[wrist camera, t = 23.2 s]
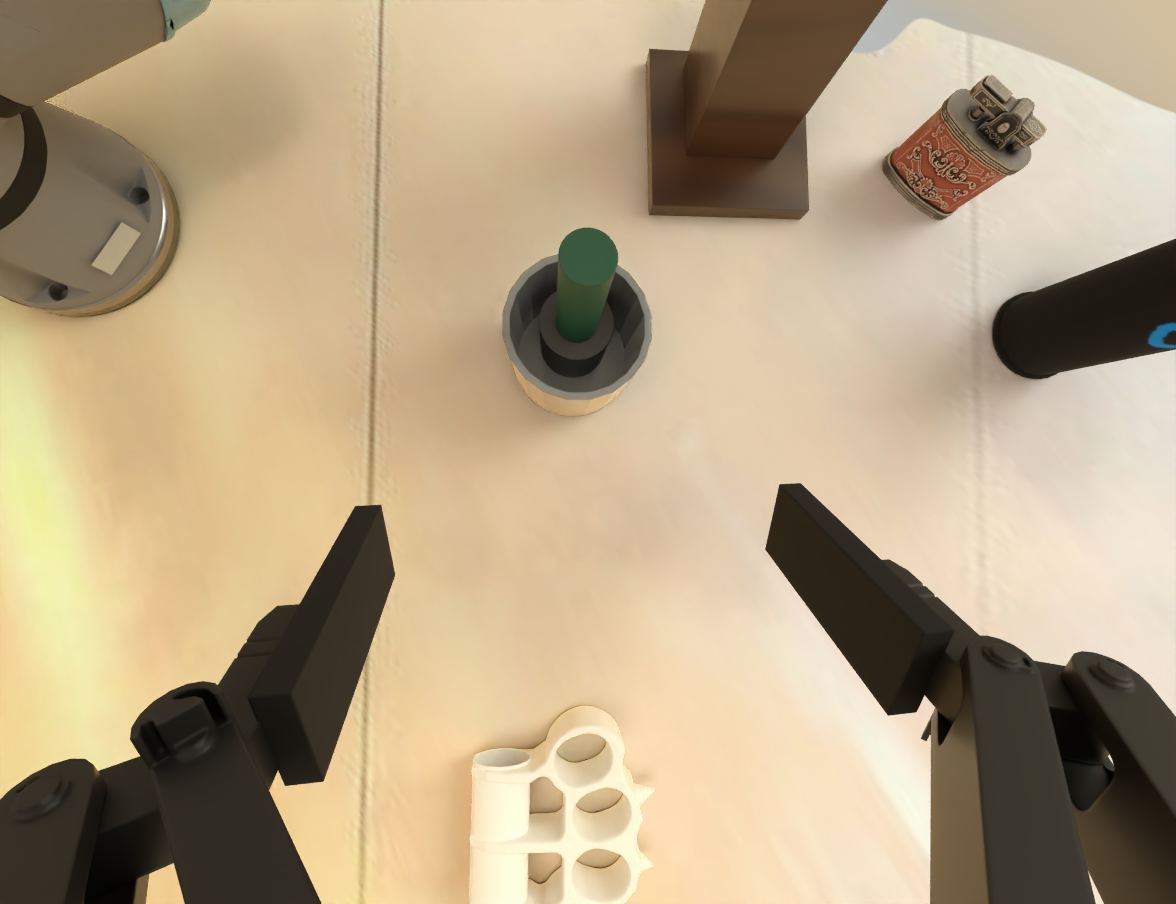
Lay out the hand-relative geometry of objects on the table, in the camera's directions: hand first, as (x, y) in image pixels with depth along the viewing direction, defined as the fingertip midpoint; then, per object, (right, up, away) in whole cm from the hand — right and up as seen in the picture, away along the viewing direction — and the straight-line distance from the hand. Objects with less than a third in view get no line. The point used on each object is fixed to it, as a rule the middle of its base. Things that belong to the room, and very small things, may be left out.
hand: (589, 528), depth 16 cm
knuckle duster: (-2, -28, +24) cm, 37 cm away
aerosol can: (+42, +13, +29) cm, 53 cm away
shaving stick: (-1, +9, +16) cm, 19 cm away
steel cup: (-1, +11, +26) cm, 28 cm away
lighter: (+31, +27, +29) cm, 50 cm away
